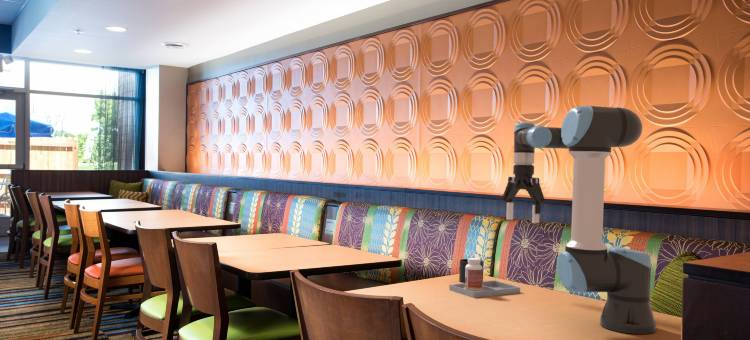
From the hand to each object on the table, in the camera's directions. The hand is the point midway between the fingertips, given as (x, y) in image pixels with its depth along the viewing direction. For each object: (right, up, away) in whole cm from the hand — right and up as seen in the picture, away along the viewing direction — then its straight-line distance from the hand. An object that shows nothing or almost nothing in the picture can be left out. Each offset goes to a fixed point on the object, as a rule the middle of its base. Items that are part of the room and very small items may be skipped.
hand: (522, 221), depth 220 cm
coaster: (-19, -26, -5) cm, 32 cm away
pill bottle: (-19, -25, -4) cm, 31 cm away
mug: (-17, -26, +17) cm, 36 cm away
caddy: (-14, -26, -2) cm, 30 cm away
